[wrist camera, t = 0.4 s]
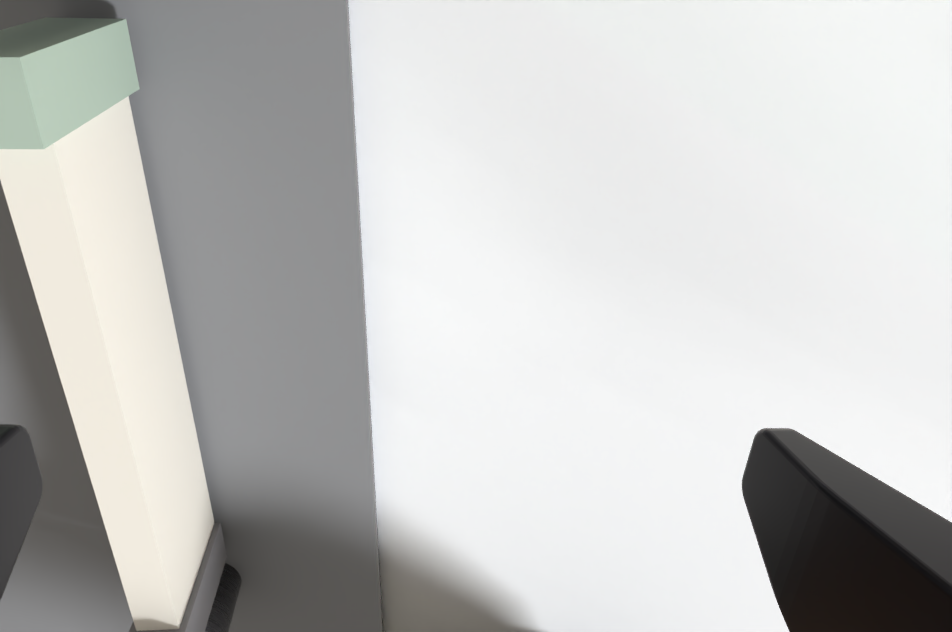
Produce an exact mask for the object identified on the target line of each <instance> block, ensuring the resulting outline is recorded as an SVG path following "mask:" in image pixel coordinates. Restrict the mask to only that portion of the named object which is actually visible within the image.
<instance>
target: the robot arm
mask: <svg viewBox="0 0 952 632" xmlns="http://www.w3.org/2000/svg"><path fill="white" fill-rule="evenodd" d="M42 490H43V480H42V475H41V471H40V468H39V464H38V461H37V457H36V454H35V450H34V447H33V444H32V440H31V437H30V434H29V432H28V430H27V429H26V428H25V427H23V426H21V425H18V424H0V600H1V598H2V596H3V593H4V591H5V588H6V586H7V583H8V581H9V578H10V576H11V573H12V570H13V568H14V565H15V563H16V560H17V558H18V555H19V553H20V550H21V548H22V545H23V542H24V540H25V537H26V535H27V532H28V530H29V527H30V525H31V522H32V520H33V517H34V514H35V512H36V509H37V507H38V504H39V502H40V499H41V495H42ZM742 492H743V497H744V500H745V504H746V507H747V510H748V513H749V516H750V519H751V522H752V526H753V529H754V532H755V535H756V538H757V541H758V545H759V548H760V551H761V554H762V557H763V560H764V564H765V567H766V570H767V573H768V576H769V579H770V583H771V586H772V588H773V591H774V594H775V597H776V600H777V603H778V605H779V608H780V610H781V612H782V615H783V617H784V620H785V622H786V624H787V627H788V629H789V631H790V632H952V522H950V521H948V520H946V519H945V518H943V517H941V516H940V515H938V514H936V513H934V512H933V511H931V510H929V509H928V508H926V507H924V506H923V505H921V504H919V503H917V502H916V501H914V500H912V499H911V498H909V497H907V496H906V495H904V494H902V493H900V492H899V491H897V490H895V489H894V488H892V487H890V486H889V485H887V484H885V483H883V482H882V481H880V480H878V479H877V478H875V477H873V476H872V475H870V474H868V473H866V472H865V471H863V470H861V469H860V468H858V467H856V466H855V465H853V464H851V463H849V462H848V461H846V460H844V459H843V458H841V457H839V456H838V455H836V454H834V453H832V452H831V451H829V450H827V449H826V448H824V447H822V446H821V445H819V444H817V443H815V442H814V441H812V440H810V439H809V438H807V437H805V436H803V435H802V434H800V433H798V432H797V431H795V430H793V429H788V428H764V429H761V430H760V431H758V432H757V434H756V435H755V437H754V440H753V443H752V447H751V450H750V454H749V457H748V461H747V464H746V468H745V471H744V474H743V479H742Z"/></svg>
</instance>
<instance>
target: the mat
mask: <svg viewBox="0 0 952 632" xmlns="http://www.w3.org/2000/svg"><path fill="white" fill-rule="evenodd" d="M46 17H52V18H107V19H126V21H127V26H128V31H129V36H130V42H131V47H132V52H133V57H134V62H135V67H136V73H137V78H138V83H139V88H140V89H139V90H137V91H136V92H134V93H132V94H131V95H129V101H130V106H131V111H132V116H133V121H134V126H135V131H136V136H137V141H138V146H139V151H140V156H141V161H142V166H143V170H144V175H145V180H146V185H147V190H148V195H149V200H150V205H151V210H152V215H153V220H154V225H155V230H156V235H157V240H158V245H159V250H160V255H161V260H162V265H163V270H164V275H165V280H166V285H167V289H168V294H169V299H170V304H171V309H172V314H173V319H174V324H175V329H176V334H177V339H178V344H179V349H180V354H181V359H182V364H183V369H184V374H185V379H186V384H187V389H188V394H189V399H190V404H191V408H192V413H193V418H194V423H195V428H196V433H197V438H198V443H199V448H200V453H201V458H202V463H203V468H204V473H205V478H206V483H207V488H208V493H209V498H210V503H211V508H212V513H213V518H214V523H221V527H222V533H223V538H224V543H225V548H226V553H227V559H226V562H225V563H226V564H229V565H231V566H232V567H234V568H235V569H236V570H237V571H238V573H239V574H240V576H241V580H242V582H241V587H240V591H239V595H238V598H237V602H236V606H235V610H234V613H233V617H232V621H231V625H230V629H229V632H383V627H382V609H381V590H380V572H379V554H378V536H377V518H376V500H375V482H374V463H373V445H372V427H371V409H370V391H369V373H368V355H367V336H366V318H365V300H364V282H363V264H362V246H361V228H360V210H359V191H358V173H357V155H356V137H355V119H354V101H353V83H352V64H351V46H350V28H349V10H348V0H0V30H3V29H7V28H10V27H14V26H17V25H21V24H24V23H28V22H32V21H35V20H39V19H42V18H46ZM0 424H18V425H21V426H23V427H25V428H26V429H27V430H28V432H29V434H30V437H31V440H32V444H33V447H34V450H35V454H36V457H37V461H38V464H39V468H40V471H41V475H42V480H43V490H42V495H41V499H40V502H39V504H38V507H37V509H36V512H35V514H34V517H33V520H32V522H31V525H30V527H29V530H28V532H27V535H26V537H25V540H24V542H23V545H22V548H21V550H20V553H19V555H18V558H17V560H16V563H15V565H14V568H13V570H12V573H11V576H10V578H9V581H8V583H7V586H6V588H5V591H4V593H3V596H2V598H1V600H0V632H129V630H130V628H131V625H132V623H133V618H132V615H131V612H130V608H129V605H128V602H127V598H126V595H125V592H124V588H123V585H122V582H121V578H120V575H119V572H118V568H117V565H116V562H115V558H114V555H113V552H112V549H111V545H110V542H109V539H108V535H107V532H106V529H105V525H104V522H103V519H102V515H101V512H100V509H99V505H98V502H97V499H96V496H95V492H94V489H93V486H92V482H91V479H90V476H89V472H88V469H87V466H86V462H85V459H84V456H83V452H82V449H81V446H80V443H79V439H78V436H77V433H76V429H75V426H74V423H73V419H72V416H71V413H70V409H69V406H68V403H67V399H66V396H65V393H64V389H63V386H62V383H61V380H60V376H59V373H58V370H57V366H56V363H55V360H54V356H53V353H52V350H51V346H50V343H49V340H48V336H47V333H46V330H45V327H44V323H43V320H42V317H41V313H40V310H39V307H38V303H37V300H36V297H35V293H34V290H33V287H32V283H31V280H30V277H29V274H28V270H27V267H26V264H25V260H24V257H23V254H22V250H21V247H20V244H19V240H18V237H17V234H16V230H15V227H14V224H13V220H12V217H11V214H10V211H9V207H8V204H7V201H6V197H5V194H4V191H3V187H2V184H1V181H0Z"/></svg>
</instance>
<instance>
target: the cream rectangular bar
mask: <svg viewBox="0 0 952 632" xmlns="http://www.w3.org/2000/svg"><path fill="white" fill-rule="evenodd" d="M139 89H140V88H139V83H138V78H137V73H136V67H135V62H134V57H133V52H132V47H131V42H130V36H129V31H128V26H127V21H126V19H107V18H52V17H46V18H42V19H39V20H35V21H32V22H28V23H24V24H21V25H17V26H14V27H10V28H7V29H3V30H0V181H1V184H2V187H3V191H4V194H5V197H6V201H7V204H8V207H9V211H10V214H11V217H12V220H13V224H14V227H15V230H16V234H17V237H18V240H19V244H20V247H21V250H22V254H23V257H24V260H25V264H26V267H27V270H28V274H29V277H30V280H31V283H32V287H33V290H34V293H35V297H36V300H37V303H38V307H39V310H40V313H41V317H42V320H43V323H44V327H45V330H46V333H47V336H48V340H49V343H50V346H51V350H52V353H53V356H54V360H55V363H56V366H57V370H58V373H59V376H60V380H61V383H62V386H63V389H64V393H65V396H66V399H67V403H68V406H69V409H70V413H71V416H72V419H73V423H74V426H75V429H76V433H77V436H78V439H79V443H80V446H81V449H82V452H83V456H84V459H85V462H86V466H87V469H88V472H89V476H90V479H91V482H92V486H93V489H94V492H95V496H96V499H97V502H98V505H99V509H100V512H101V515H102V519H103V522H104V525H105V529H106V532H107V535H108V539H109V542H110V545H111V549H112V552H113V555H114V558H115V562H116V565H117V568H118V572H119V575H120V578H121V582H122V585H123V588H124V592H125V595H126V598H127V602H128V605H129V608H130V612H131V615H132V618H133V623H132V625H131V628H130V630H129V632H205V629H206V626H207V622H208V619H209V616H210V612H211V609H212V605H213V602H214V599H215V595H216V592H217V589H218V585H219V582H220V579H221V575H222V572H223V569H224V565H225V562H226V559H227V553H226V548H225V543H224V538H223V533H222V527H221V523H214V518H213V513H212V508H211V503H210V498H209V493H208V488H207V483H206V478H205V473H204V468H203V463H202V458H201V453H200V448H199V443H198V438H197V433H196V428H195V423H194V418H193V413H192V408H191V404H190V399H189V394H188V389H187V384H186V379H185V374H184V369H183V364H182V359H181V354H180V349H179V344H178V339H177V334H176V329H175V324H174V319H173V314H172V309H171V304H170V299H169V294H168V289H167V285H166V280H165V275H164V270H163V265H162V260H161V255H160V250H159V245H158V240H157V235H156V230H155V225H154V220H153V215H152V210H151V205H150V200H149V195H148V190H147V185H146V180H145V175H144V170H143V166H142V161H141V156H140V151H139V146H138V141H137V136H136V131H135V126H134V121H133V116H132V111H131V106H130V101H129V95H131V94H132V93H134V92H136V91H137V90H139Z"/></svg>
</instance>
